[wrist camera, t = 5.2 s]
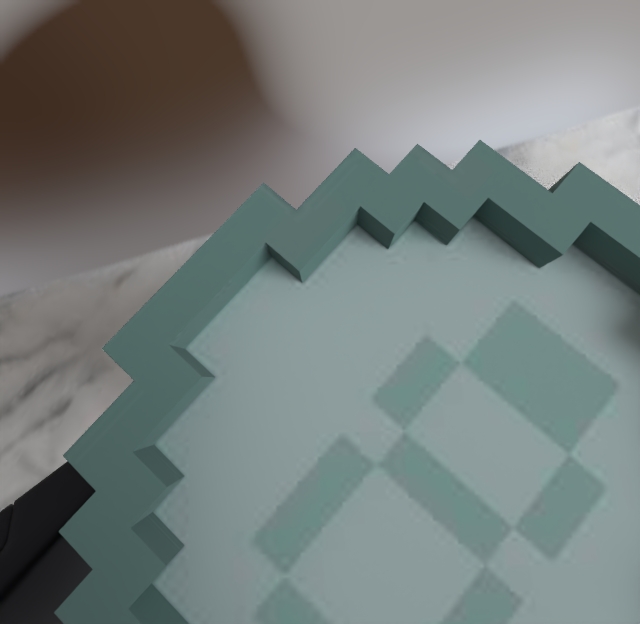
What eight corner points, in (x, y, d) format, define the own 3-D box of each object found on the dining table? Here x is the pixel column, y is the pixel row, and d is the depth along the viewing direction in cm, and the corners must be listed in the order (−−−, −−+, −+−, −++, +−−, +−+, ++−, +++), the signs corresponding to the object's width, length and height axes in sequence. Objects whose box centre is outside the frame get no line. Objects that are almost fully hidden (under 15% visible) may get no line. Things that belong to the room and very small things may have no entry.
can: (449, 402, 18) (1021, 480, 3) (359, 511, 17) (545, 1295, 2) (345, 312, 19) (405, 37, 4) (256, 413, 18) (-85, 539, 3)
